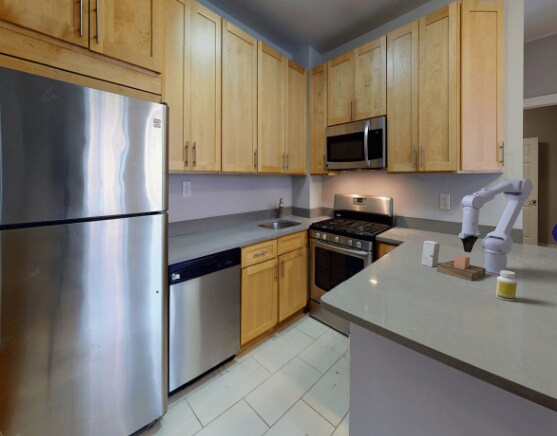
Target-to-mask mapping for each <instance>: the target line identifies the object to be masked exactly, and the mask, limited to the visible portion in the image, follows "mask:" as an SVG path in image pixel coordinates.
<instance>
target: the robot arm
mask: <svg viewBox="0 0 557 436" xmlns="http://www.w3.org/2000/svg"><path fill="white" fill-rule="evenodd" d="M533 189H534V185H533V181H532V180H531V179H530V178H518V179H517V178H514V179H513V178H511V179H509V178H505V179H502V180H500V182H499V183H498V184H496V185H494V186H493V187H491V188H488V187H483V188H481V189H480V190H479V191H477V192H473V193H472V194H471V195H470V194H469V195H465V196H463V198H461V201H460V206H461V207H462V213H463V214H462V224H461V231H460V233H458V238H459V239H460V241H461V243H462V246H463V251H464V253H469V254H470V253H472V250H473V248H474V245H475V244H476V242H477V241H478V240H479V236H480V235H482V234H481V232H480V230H479V221H480V220H479V219H480V210H481V209H482V208H483V207H484V205H486V203H488V202H490V201H492V200H494V199H495V197H496V196H497V195H500V194H503V196H504V197H505V199H507V200H508V203H507V205H506V207H505V209H504V211H503V213H502V214H501V215H502V216H500V219H499V221H498V223H497V225H496V228H495V229H494V230H493V231H491V232H488V233H487V234H486V236H485V237H484V238H483V239H482V241H481V247H482V249H483V251H484V252H485V253H484V254H485V255H484V265H483V268H486V273H487V272H489V273H492V274H497V275H500V271H501V270H506V271H510V270H509V269H507V266H508V256H507V255H508V254H509V253H510V252H511V251H512V248H513V243H514V239H513V238H512V236H511V235H510V234H511V232H512V229H513V228H514V226H515V224H516V221H517V219H518V217H519V215H520V213H521V211H522V209H523V207H524V205H525V203H526V201H527V200H528V199H529V197H530V194H531V193H532V191H533Z"/></svg>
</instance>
